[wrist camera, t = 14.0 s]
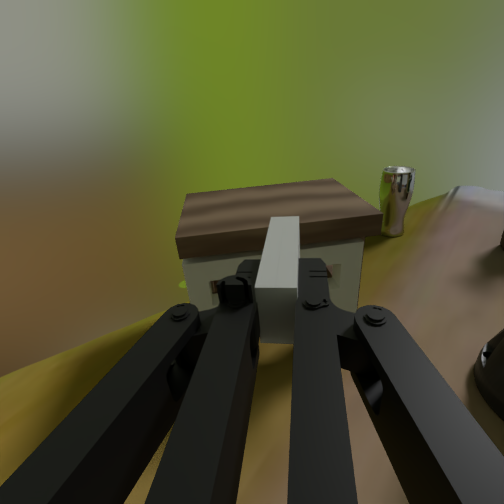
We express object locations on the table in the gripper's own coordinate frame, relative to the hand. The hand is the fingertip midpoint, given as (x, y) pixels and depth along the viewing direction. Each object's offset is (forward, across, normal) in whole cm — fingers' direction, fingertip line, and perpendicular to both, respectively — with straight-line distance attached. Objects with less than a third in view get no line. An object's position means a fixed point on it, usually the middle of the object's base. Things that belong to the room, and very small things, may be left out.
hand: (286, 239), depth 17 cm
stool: (+21, -4, -25) cm, 33 cm away
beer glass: (+55, +21, -27) cm, 65 cm away
